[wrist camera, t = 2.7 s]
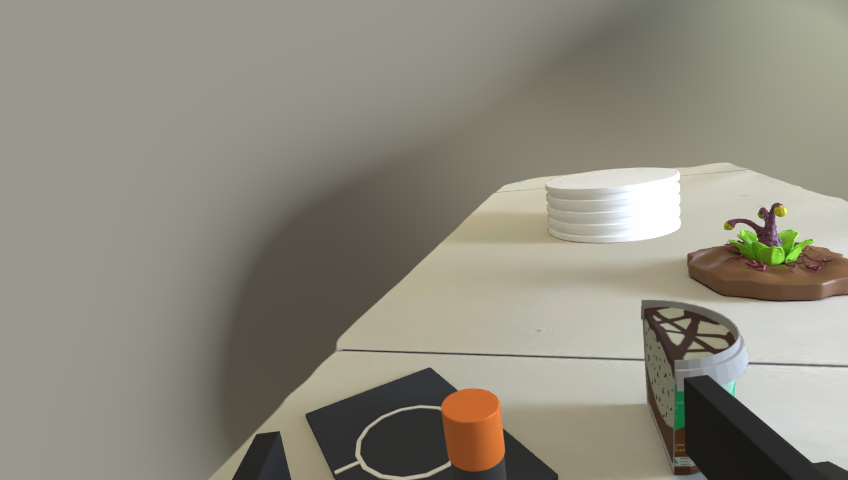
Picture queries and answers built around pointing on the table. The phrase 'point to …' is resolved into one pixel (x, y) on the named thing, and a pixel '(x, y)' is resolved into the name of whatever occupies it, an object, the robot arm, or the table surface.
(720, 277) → the plant
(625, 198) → the plate stack
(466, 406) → the marker
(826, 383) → the table surface
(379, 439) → the desk mat
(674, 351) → the food container
